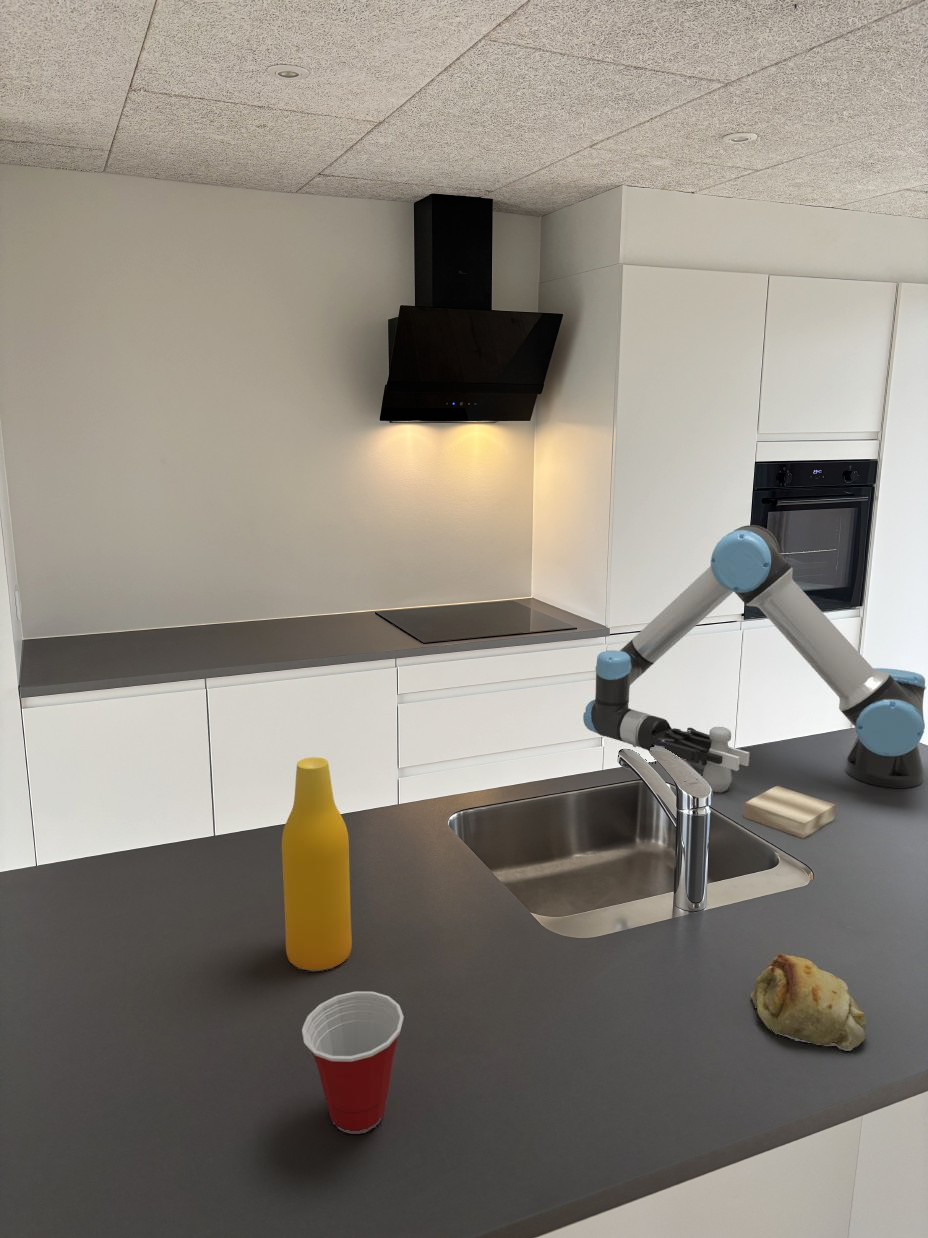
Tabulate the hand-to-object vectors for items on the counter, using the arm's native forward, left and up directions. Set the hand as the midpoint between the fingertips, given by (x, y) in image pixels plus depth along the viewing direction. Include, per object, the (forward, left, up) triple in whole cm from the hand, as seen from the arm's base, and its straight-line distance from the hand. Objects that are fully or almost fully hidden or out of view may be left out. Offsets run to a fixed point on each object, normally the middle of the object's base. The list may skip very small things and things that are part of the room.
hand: (743, 761), depth 180 cm
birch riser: (+2, +12, -8) cm, 14 cm away
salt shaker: (0, -5, -8) cm, 9 cm away
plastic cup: (+107, +17, -8) cm, 109 cm away
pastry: (+55, +42, -8) cm, 70 cm away
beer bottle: (+93, -11, -8) cm, 94 cm away
